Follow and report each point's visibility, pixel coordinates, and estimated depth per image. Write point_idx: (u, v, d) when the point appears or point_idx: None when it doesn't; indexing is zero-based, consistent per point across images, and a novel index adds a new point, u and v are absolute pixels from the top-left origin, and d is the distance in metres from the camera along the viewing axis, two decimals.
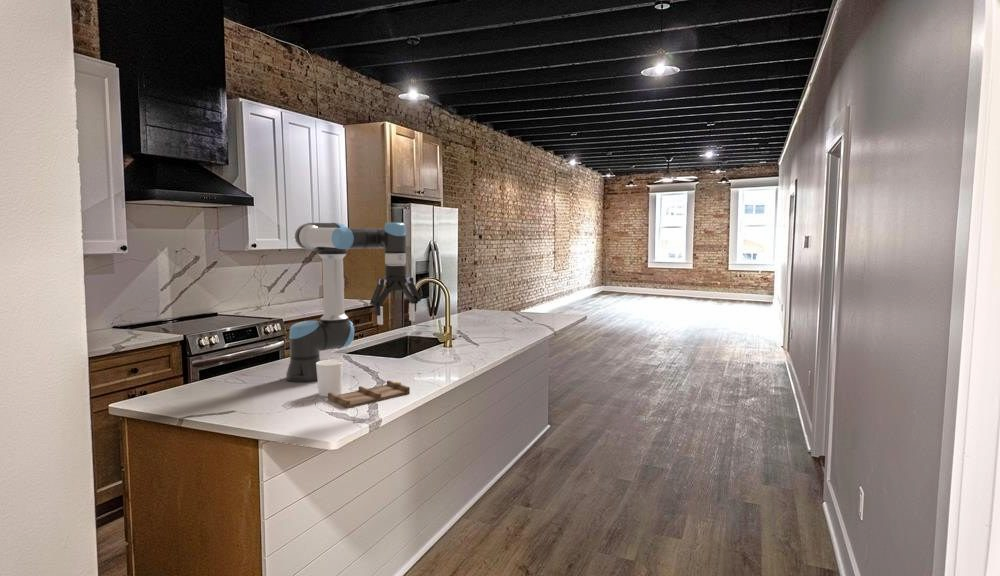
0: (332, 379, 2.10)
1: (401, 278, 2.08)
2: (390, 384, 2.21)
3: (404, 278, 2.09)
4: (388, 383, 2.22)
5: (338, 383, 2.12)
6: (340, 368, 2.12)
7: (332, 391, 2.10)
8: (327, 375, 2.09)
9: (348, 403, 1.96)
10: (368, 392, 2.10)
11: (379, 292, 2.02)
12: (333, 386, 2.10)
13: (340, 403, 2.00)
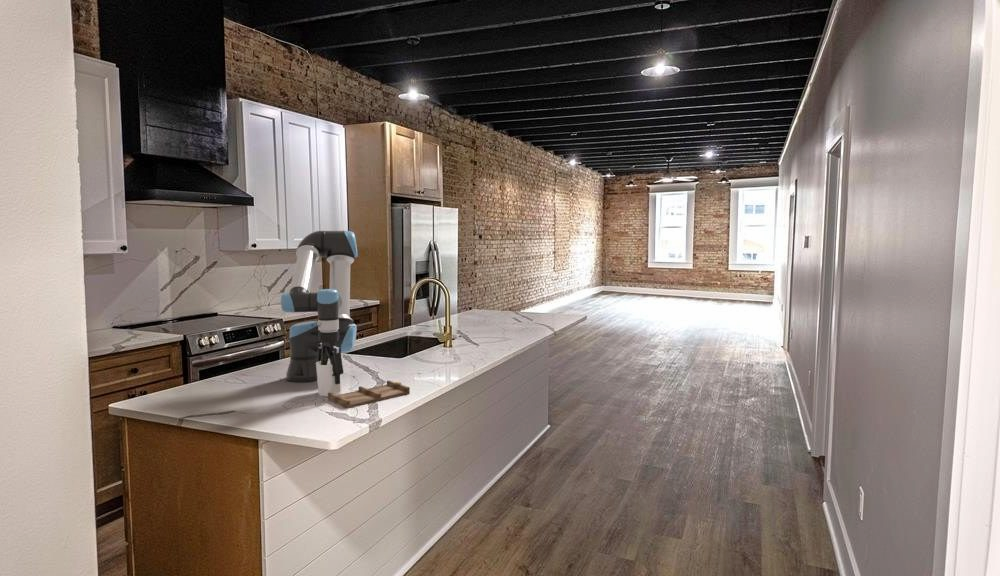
0: (331, 379, 2.10)
1: (328, 344, 2.10)
2: (390, 384, 2.21)
3: (330, 345, 2.09)
4: (388, 383, 2.22)
5: None
6: None
7: (332, 391, 2.10)
8: (327, 375, 2.09)
9: (348, 403, 1.96)
10: (368, 392, 2.10)
11: (317, 355, 2.17)
12: None
13: (340, 403, 2.00)
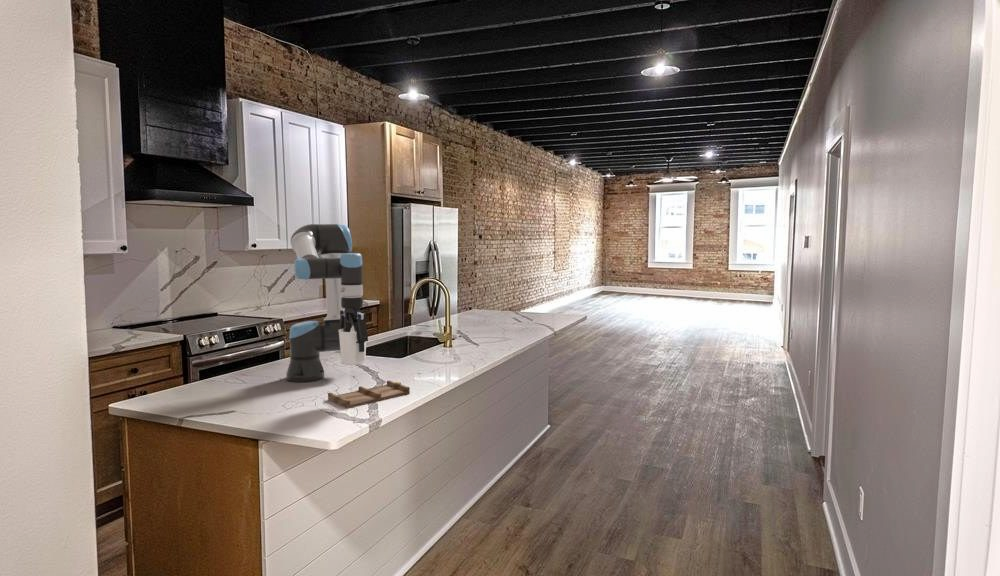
0: (355, 347, 2.00)
1: (352, 310, 2.01)
2: (390, 384, 2.21)
3: (354, 311, 2.00)
4: (388, 383, 2.22)
5: None
6: None
7: (356, 359, 2.01)
8: (351, 342, 1.99)
9: (348, 403, 1.96)
10: (368, 392, 2.10)
11: (340, 323, 2.07)
12: None
13: (340, 403, 2.00)
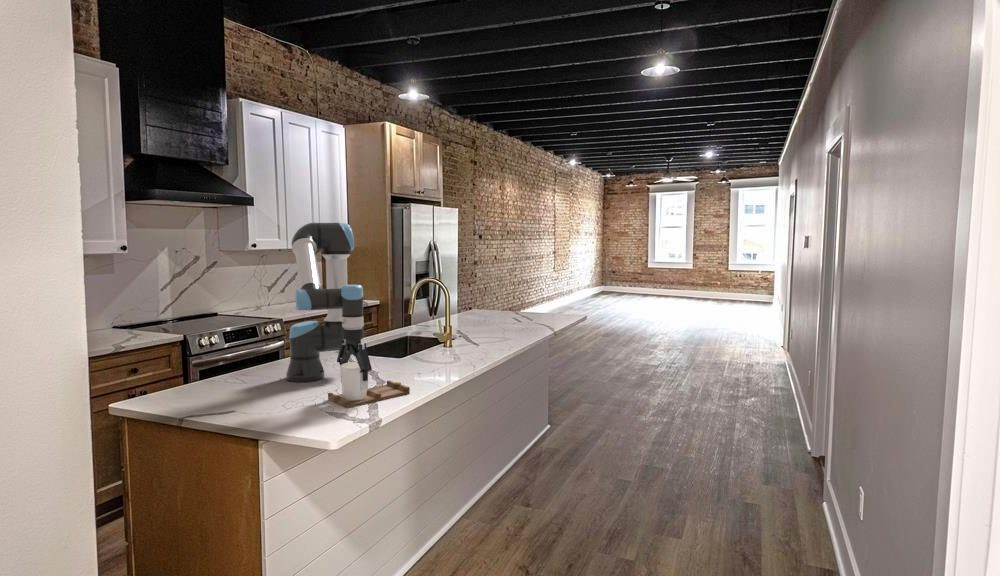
0: (357, 383, 2.01)
1: (353, 342, 2.02)
2: (390, 384, 2.21)
3: (354, 343, 2.01)
4: (388, 383, 2.22)
5: None
6: None
7: (357, 395, 2.02)
8: (352, 378, 2.00)
9: (348, 403, 1.96)
10: (368, 392, 2.10)
11: (340, 351, 2.09)
12: (358, 390, 2.02)
13: (340, 403, 2.00)
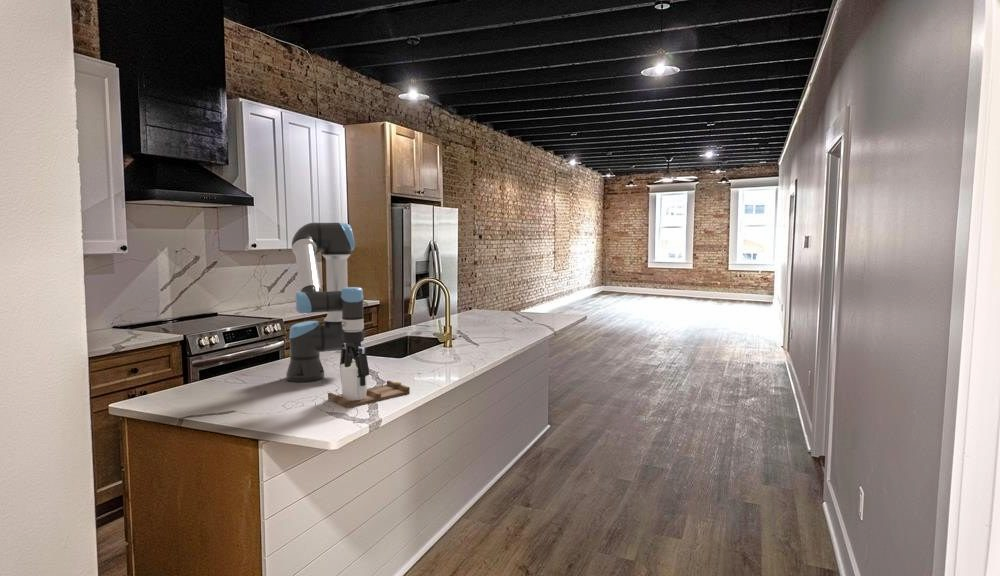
0: (356, 383, 2.01)
1: (353, 344, 2.02)
2: (390, 384, 2.21)
3: (355, 345, 2.01)
4: (388, 383, 2.22)
5: None
6: None
7: (357, 395, 2.02)
8: (352, 378, 2.00)
9: (348, 403, 1.96)
10: (368, 392, 2.10)
11: (341, 356, 2.08)
12: None
13: (340, 403, 2.00)
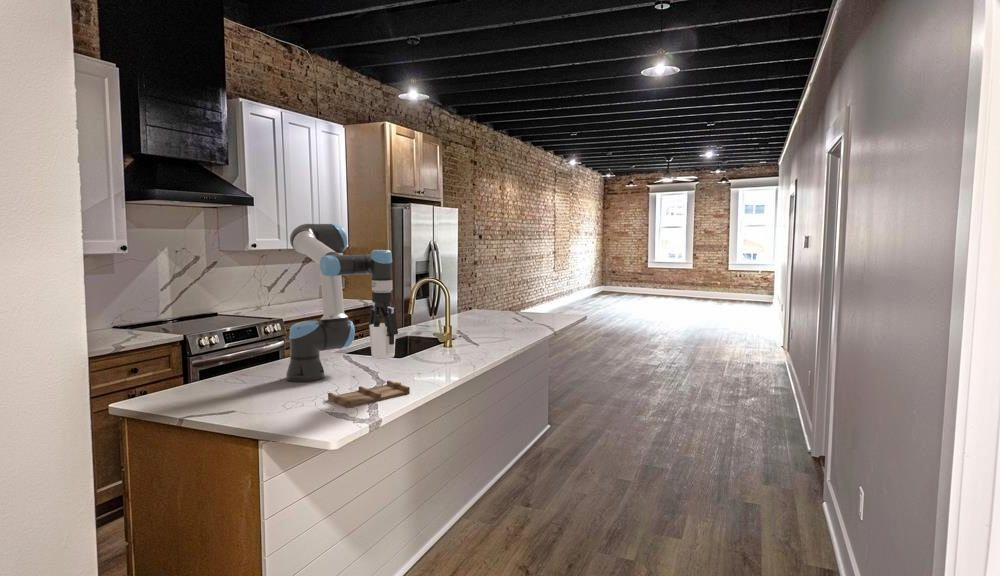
0: (386, 341, 2.08)
1: (382, 304, 2.09)
2: (390, 384, 2.21)
3: (384, 305, 2.08)
4: (388, 383, 2.22)
5: None
6: None
7: (386, 353, 2.09)
8: (381, 337, 2.08)
9: (348, 403, 1.96)
10: (368, 392, 2.10)
11: (370, 317, 2.16)
12: None
13: (340, 403, 2.00)
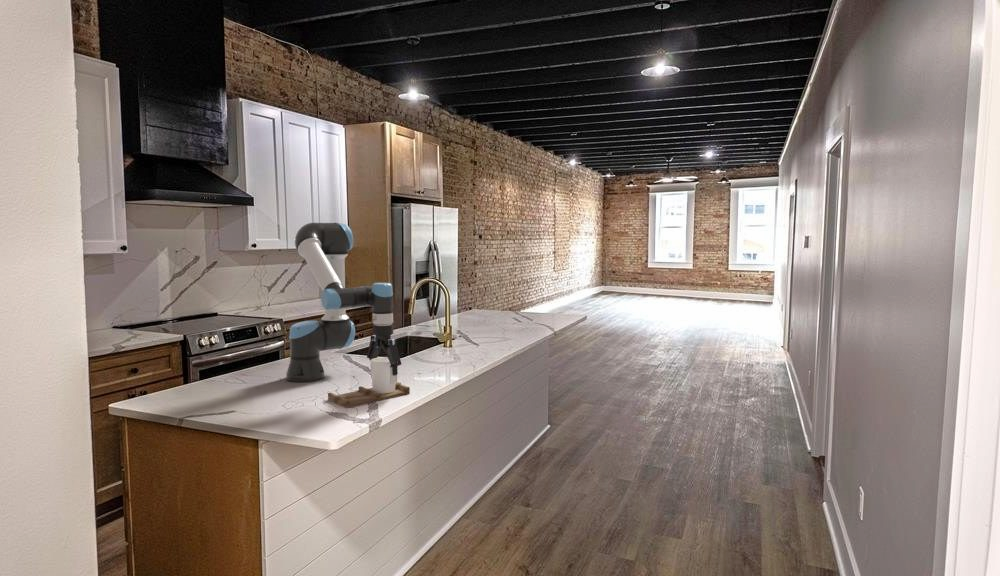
0: (387, 376, 2.10)
1: (383, 338, 2.10)
2: None
3: (385, 338, 2.10)
4: None
5: None
6: None
7: (387, 388, 2.10)
8: (382, 372, 2.09)
9: (348, 403, 1.96)
10: (368, 392, 2.10)
11: (369, 347, 2.17)
12: (388, 383, 2.10)
13: (340, 403, 2.00)
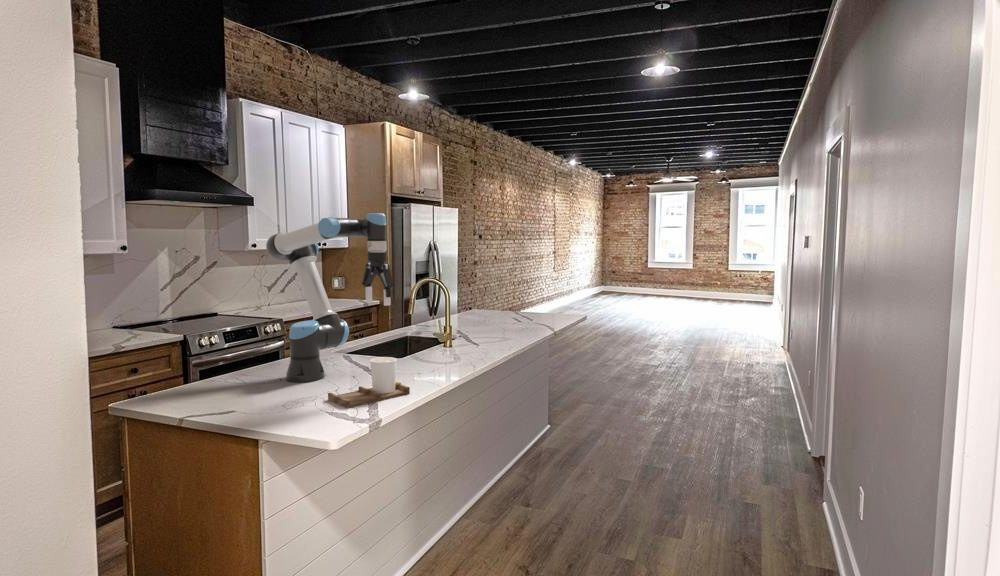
0: (387, 376, 2.10)
1: (377, 264, 2.27)
2: None
3: (379, 264, 2.26)
4: None
5: (392, 380, 2.12)
6: (394, 365, 2.12)
7: (387, 388, 2.10)
8: (382, 372, 2.09)
9: (348, 403, 1.96)
10: (368, 392, 2.10)
11: (364, 274, 2.34)
12: (388, 383, 2.10)
13: (340, 403, 2.00)
